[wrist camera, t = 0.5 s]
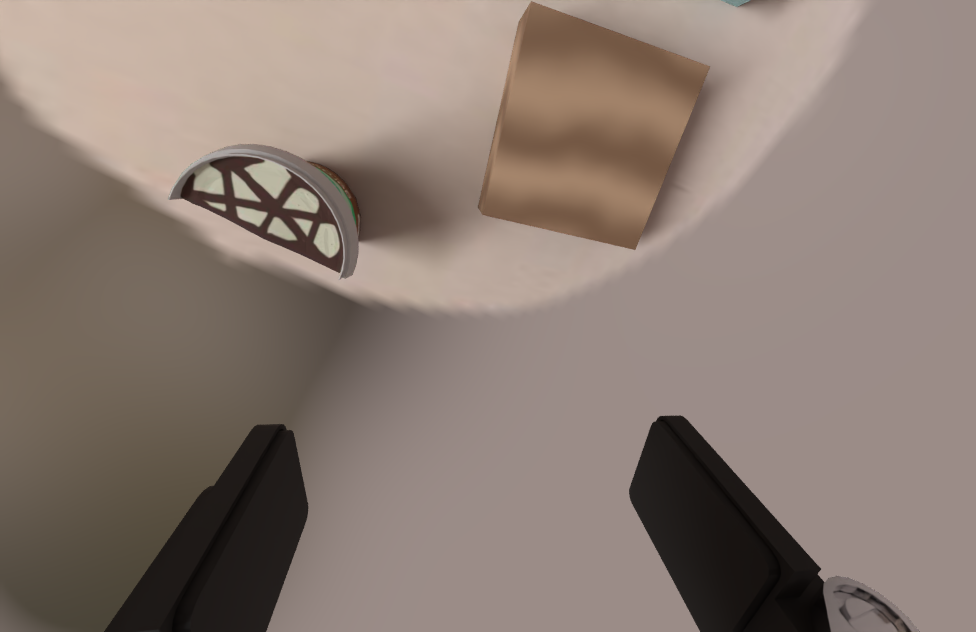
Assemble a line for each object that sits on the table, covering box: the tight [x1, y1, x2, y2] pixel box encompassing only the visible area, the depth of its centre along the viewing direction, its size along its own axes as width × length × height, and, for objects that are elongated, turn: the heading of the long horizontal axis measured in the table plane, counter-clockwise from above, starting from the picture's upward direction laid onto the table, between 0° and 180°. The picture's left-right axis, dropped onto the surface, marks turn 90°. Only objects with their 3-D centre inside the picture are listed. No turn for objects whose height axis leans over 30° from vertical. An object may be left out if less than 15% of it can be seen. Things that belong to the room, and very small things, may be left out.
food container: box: [168, 144, 360, 280], centre depth 28 cm, size 12×6×10 cm, turn 59°
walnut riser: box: [478, 1, 710, 250], centre depth 32 cm, size 15×15×4 cm
